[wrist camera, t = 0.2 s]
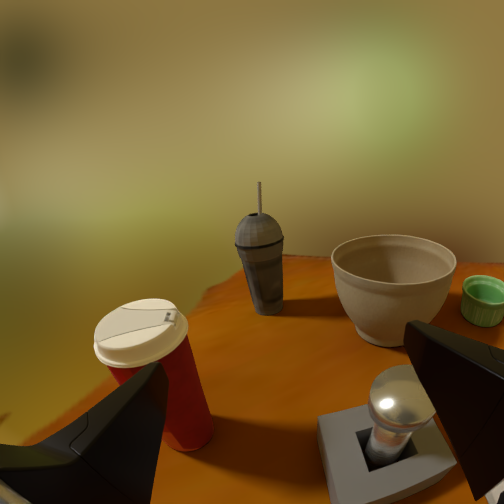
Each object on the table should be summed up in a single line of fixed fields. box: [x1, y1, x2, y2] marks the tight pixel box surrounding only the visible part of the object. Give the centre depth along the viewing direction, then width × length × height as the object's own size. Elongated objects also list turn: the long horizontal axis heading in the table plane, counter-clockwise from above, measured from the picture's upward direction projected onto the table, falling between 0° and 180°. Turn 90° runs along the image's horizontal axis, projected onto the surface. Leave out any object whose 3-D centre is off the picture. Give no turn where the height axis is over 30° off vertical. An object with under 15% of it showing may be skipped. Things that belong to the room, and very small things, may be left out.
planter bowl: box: [331, 235, 456, 347], centre depth 32 cm, size 16×16×11 cm
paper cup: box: [94, 299, 214, 452], centre depth 20 cm, size 8×8×14 cm
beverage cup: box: [235, 182, 284, 315], centre depth 41 cm, size 7×7×20 cm
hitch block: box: [317, 404, 457, 504], centre depth 15 cm, size 9×9×4 cm
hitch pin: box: [363, 365, 436, 472], centre depth 14 cm, size 5×5×10 cm
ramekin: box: [461, 275, 504, 327], centre depth 29 cm, size 9×9×4 cm
